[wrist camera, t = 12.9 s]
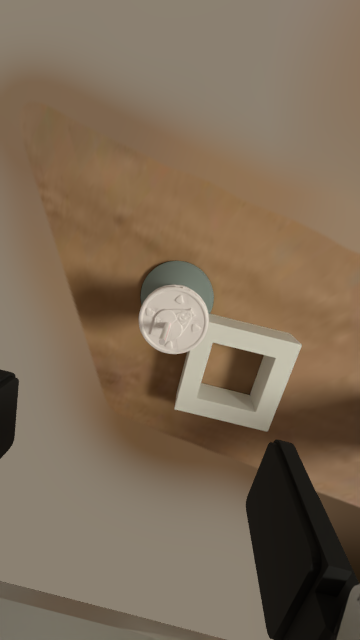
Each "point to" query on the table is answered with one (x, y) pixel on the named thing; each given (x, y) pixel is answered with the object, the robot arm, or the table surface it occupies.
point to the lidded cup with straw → (173, 319)
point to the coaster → (179, 280)
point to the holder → (268, 382)
